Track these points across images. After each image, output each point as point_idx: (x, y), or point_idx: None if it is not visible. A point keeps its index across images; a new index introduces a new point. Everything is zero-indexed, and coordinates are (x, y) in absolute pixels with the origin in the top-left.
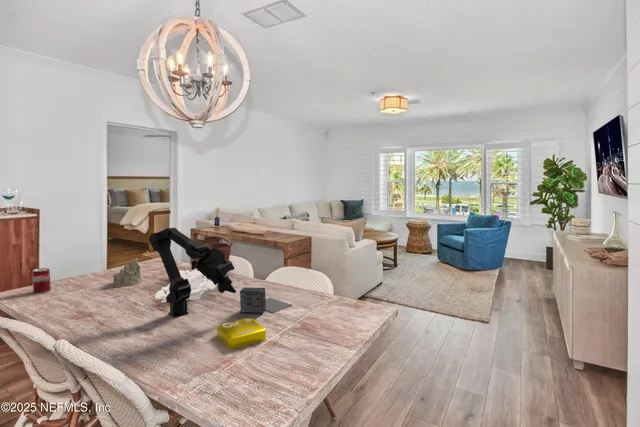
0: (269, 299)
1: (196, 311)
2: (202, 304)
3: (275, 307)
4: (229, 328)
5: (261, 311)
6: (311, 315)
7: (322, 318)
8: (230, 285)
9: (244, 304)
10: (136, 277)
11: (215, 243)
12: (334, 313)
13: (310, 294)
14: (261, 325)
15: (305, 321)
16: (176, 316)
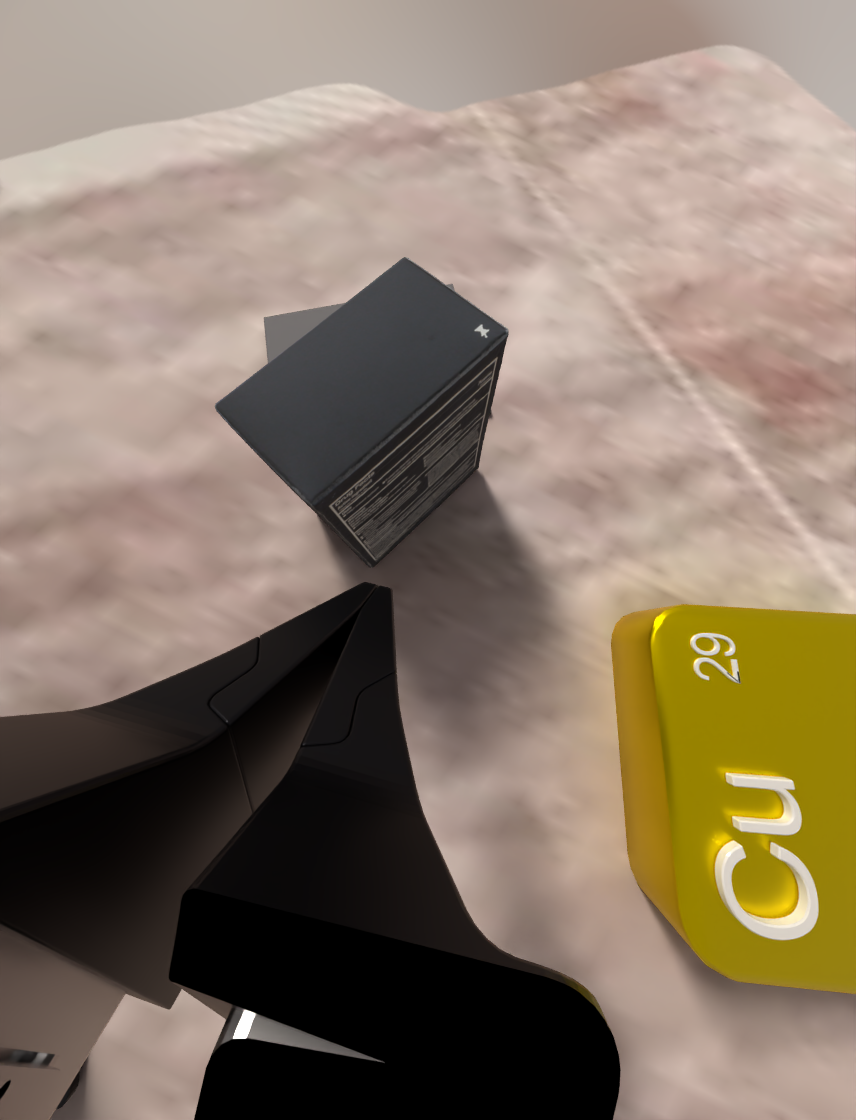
0: (291, 333)
1: None
2: None
3: None
4: (830, 892)
5: (477, 463)
6: (638, 287)
7: (702, 270)
8: (400, 748)
9: (384, 527)
10: None
11: None
12: (669, 205)
13: (371, 162)
14: (849, 615)
15: (699, 344)
16: (72, 1084)
